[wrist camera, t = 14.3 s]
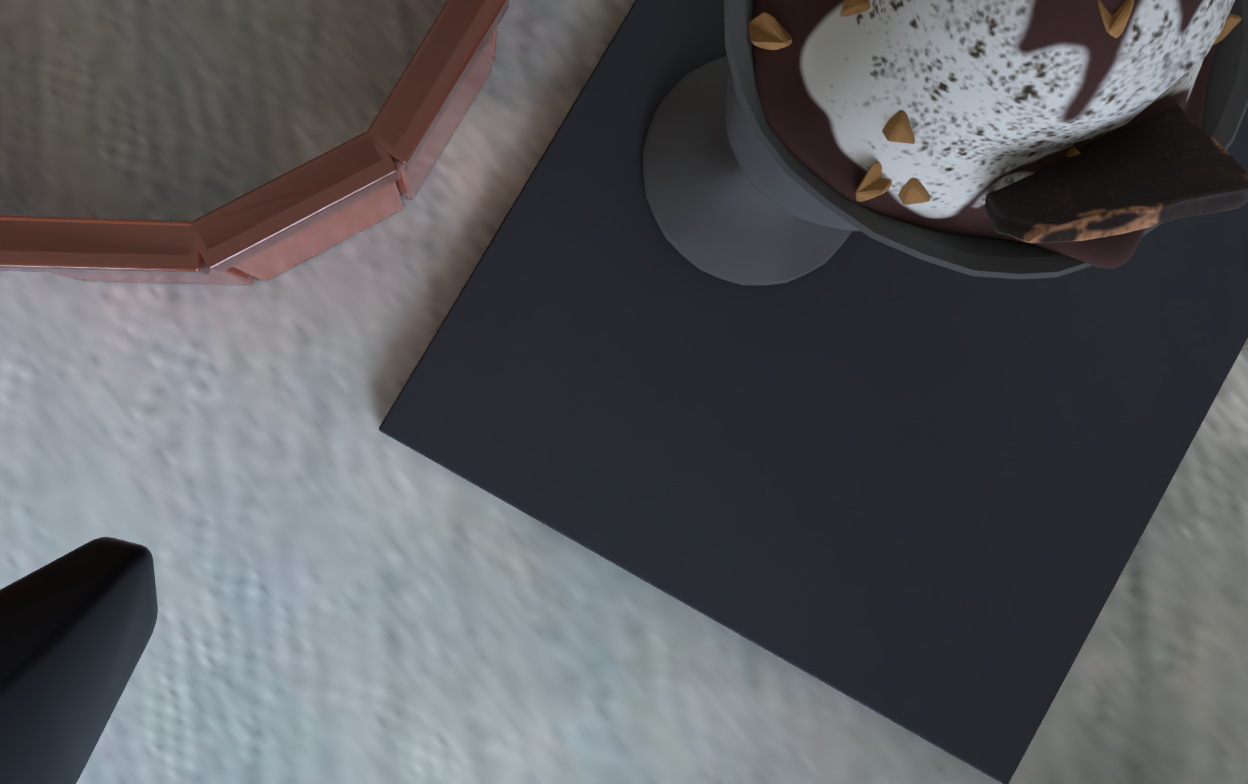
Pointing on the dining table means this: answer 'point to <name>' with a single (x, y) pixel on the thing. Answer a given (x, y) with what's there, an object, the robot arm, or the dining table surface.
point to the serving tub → (286, 185)
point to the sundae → (950, 133)
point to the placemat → (829, 419)
